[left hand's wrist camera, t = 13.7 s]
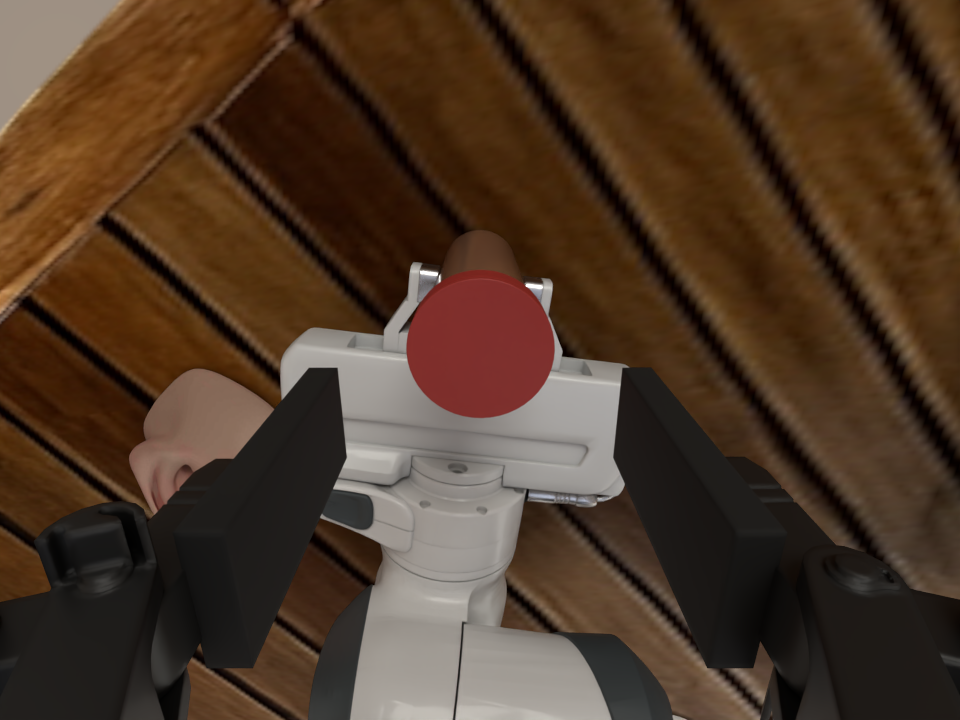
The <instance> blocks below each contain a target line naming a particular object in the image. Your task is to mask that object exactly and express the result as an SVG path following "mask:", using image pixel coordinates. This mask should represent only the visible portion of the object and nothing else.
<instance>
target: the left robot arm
mask: <svg viewBox="0 0 960 720" xmlns="http://www.w3.org/2000/svg"><path fill="white" fill-rule="evenodd" d="M346 459H347V453H346V443H345V434H344V424H343V414H342V405H341V395H340V385H339V375H338V368H308V369H307V371H306V372H305V373H304V374H303V375H302V377H301V378H300V379H299V380H298V381H297V383H296V384H295V385H294V386H293V387H292V389H291V390H290V391H289V392H288V393H287V395H286V396H285V397H284V398H283V400H282V401H281V402H280V403H279V404H278V406H277V407H276V408H275V409H274V410H273V412H272V413H271V414H270V415H269V416H268V418H267V419H266V420H265V421H264V423H263V424H262V425H261V426H260V427H259V429H258V430H257V431H256V432H255V433H254V435H253V436H252V437H251V438H250V439H249V441H248V442H247V443H246V444H245V445H244V447H243V448H242V449H241V450H240V452H239V453H238V454H237V455H236V456H235V458H234V459H214V460H213V461H211V462H209V463H208V464H206V465H205V466H203V467H201V468H200V469H198V470H196V471H195V472H193V473H192V475H191V476H190V477H189V478H188V479H187V480H186V481H185V482H184V483H183V484H182V485H181V486H180V488H179V491H176V492H175V493H174V494H173V495H172V496H171V497H170V498H169V500H168V501H167V504H164V505H163V506H162V507H161V508H160V509H159V510H158V511H157V513H156V514H155V515H154V516H153V517H152V518H151V519H150V520H149V521H148V522H147V519H146V516H145V512H144V509H143V508H141V507H140V506H139V505H137V504H136V503H130V502H123V501H119V502H109V503H101V504H98V505H94V506H91V507H87V508H83V509H81V510H78V511H76V512H74V513H72V514H69V515H67V516H65V517H63V518H61V519H59V520H58V521H56V522H55V523H53V524H52V525H50V526H49V527H47V528H46V529H45V530H44V531H43V532H42V533H41V534H40V535H39V536H38V537H37V539H36V540H35V541H34V542H35V545H36V548H37V550H38V553H39V556H40V559H41V561H42V564H43V567H44V569H45V572H46V575H47V577H48V580H49V583H50V586H51V590H50V591H49V592H45V593H40V594H36V595H31V596H26V597H22V598H17V599H13V600H8V601H3V602H0V720H187V716H188V707H189V699H190V690H191V686H190V679H189V674H188V670H187V667H186V666H187V665H188V663H189V661H190V659H191V658H192V656H193V654H194V652H195V651H196V649H197V647H198V646H199V644H201V647H202V651H203V655H204V659H205V663H206V667H207V668H253V666H254V664H255V662H256V660H257V657H258V655H259V653H260V651H261V649H262V646H263V644H264V642H265V640H266V637H267V635H268V633H269V631H270V628H271V626H272V624H273V622H274V620H275V617H276V615H277V613H278V611H279V608H280V606H281V604H282V602H283V599H284V597H285V595H286V593H287V590H288V588H289V586H290V584H291V582H292V579H293V577H294V575H295V573H296V570H297V568H298V566H299V564H300V561H301V559H302V557H303V555H304V553H305V550H306V548H307V546H308V544H309V541H310V539H311V537H312V535H313V532H314V530H315V528H316V526H317V524H318V521H319V519H320V517H321V515H322V512H323V510H324V508H325V506H326V503H327V501H328V499H329V497H330V494H331V492H332V490H333V488H334V486H335V483H336V481H337V479H338V477H339V474H340V472H341V470H342V468H343V465H344V463H345V461H346ZM613 459H614V461H615V463H616V465H617V468H618V470H619V472H620V474H621V477H622V479H623V481H624V483H625V486H626V488H627V490H628V492H629V494H630V497H631V499H632V501H633V503H634V506H635V508H636V510H637V512H638V515H639V517H640V519H641V521H642V524H643V526H644V528H645V530H646V532H647V535H648V537H649V539H650V541H651V544H652V546H653V548H654V550H655V553H656V555H657V557H658V559H659V561H660V564H661V566H662V568H663V570H664V573H665V575H666V577H667V579H668V582H669V584H670V586H671V588H672V590H673V593H674V595H675V597H676V599H677V602H678V604H679V606H680V608H681V611H682V613H683V615H684V617H685V620H686V622H687V624H688V626H689V628H690V631H691V633H692V635H693V637H694V640H695V642H696V644H697V646H698V649H699V651H700V653H701V655H702V657H703V660H704V662H705V664H706V666H707V668H753V667H754V663H755V659H756V655H757V651H758V647H759V643H760V641H761V643H762V645H763V646H764V648H765V650H766V651H767V653H768V655H769V657H770V658H771V660H772V662H773V663H774V667H773V670H772V674H771V678H770V681H769V685H768V689H767V692H766V696H765V700H764V703H763V707H762V712H761V718H760V720H769V718H770V714H771V711H772V714H773V720H960V600H959V599H954V598H949V597H945V596H940V595H935V594H931V593H926V592H922V591H917V590H913V589H909V587H908V586H907V584H906V583H905V582H904V581H903V579H902V578H901V577H900V575H899V574H898V573H896V572H895V571H894V570H892V569H891V568H890V567H889V566H887V565H886V564H885V563H883V562H882V561H880V560H878V559H876V558H874V557H872V556H870V555H868V554H866V553H864V552H861V551H858V550H854V549H851V548H848V547H845V546H837V545H835V544H834V543H833V541H832V540H831V539H830V538H829V537H828V536H827V535H826V534H825V533H824V532H823V531H822V530H821V528H820V527H819V526H818V525H817V524H816V523H815V522H814V521H813V520H812V519H811V518H810V517H809V516H808V514H807V513H806V512H805V511H804V510H803V509H802V508H801V507H800V506H799V505H798V504H797V503H794V502H793V498H792V497H791V496H790V495H789V494H788V493H787V492H786V491H785V490H784V489H781V485H780V484H779V483H778V482H777V481H776V480H775V479H774V478H773V477H772V476H771V474H770V473H769V472H768V471H767V470H765V469H764V468H762V467H760V466H759V465H757V464H755V463H754V462H752V461H750V460H749V459H747V458H745V457H725V456H724V455H723V454H722V453H721V452H720V450H719V449H718V448H717V447H716V445H715V444H714V443H713V442H712V441H711V439H710V438H709V437H708V436H707V435H706V433H705V432H704V431H703V430H702V429H701V427H700V426H699V425H698V424H697V423H696V421H695V420H694V419H693V418H692V416H691V415H690V414H689V413H688V412H687V410H686V409H685V408H684V407H683V406H682V404H681V403H680V402H679V401H678V400H677V398H676V397H675V396H674V395H673V393H672V392H671V391H670V390H669V389H668V387H667V386H666V385H665V384H664V383H663V381H662V380H661V379H660V378H659V377H658V375H657V374H656V373H655V372H654V371H653V369H652V368H622V375H621V385H620V395H619V405H618V414H617V424H616V434H615V443H614V453H613Z"/></svg>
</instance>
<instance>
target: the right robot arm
mask: <svg viewBox="0 0 960 720" xmlns="http://www.w3.org/2000/svg"><path fill="white" fill-rule="evenodd" d="M439 274H440V266H439V265H432V264H425V263H417V262H413V264H412V265H411V269H410V275H409V288H408V295H407V297H406V298H405V299H404V301H403V302H402V304H401V305H400V306H399V308H398V309H397V310H396V312H395V313H394V315H393V316H392V317H391V319H390V321H389V322H388V324H387V326H386V328H385V329H384V336H383V335H375V334H366V333H358V332H349V331H341V330H332V329H324V328H310V329H308V330H307V331H306V332H304V333H303V334H302V335H301V336H299V337H298V338H297V339H296V340H295V341H294V342H293V343H292V344H291V345H290V346H289V347H288V348H287V350H286V351H285V353H284V355H283V357H282V360H281V373H280V377H281V396H282V400H283V398H284V397H285V396H286V395H287V393H288V392H289V391H290V390H291V389H292V387H293V386H294V385H295V384H296V383H297V381H298V380H299V379H300V378H301V377H302V375H303V374H304V373H305V372H306V371H307V369H308V368H338V375H339V385H340V395H341V405H342V414H343V424H344V434H345V443H346V453H347V459H346V461H345V463H344V465H343V468H342V470H341V472H340V474H339V477H338V479H337V481H336V483H335V486H334V488H333V490H332V492H331V494H330V497H329V499H328V501H327V503H326V506H325V508H324V510H323V512H322V515H321V517H320V518H321V519H324V520H327V521H330V522H332V523H335V524H338V525H340V526H343V527H345V528H348V529H350V530H353V531H355V532H357V533H360V534H362V535H364V536H366V537H368V538H370V539H372V540H374V541H376V542H378V543H380V545H381V549H382V554H383V560H382V563H381V565H380V567H379V569H378V572H377V576H376V582H375V585H370V586H369V587H367V588H366V589H365V590H363V591H362V592H361V593H360V594H359V595H358V596H357V597H356V598H355V599H354V600H353V601H352V602H351V603H350V604H349V605H348V606H347V607H346V609H345V610H344V611H343V612H342V613H341V614H340V615H339V616H338V618H337V619H336V621H335V622H334V624H333V626H332V627H331V629H330V631H329V633H328V635H327V638H326V640H325V642H324V645H323V648H322V650H321V653H320V657H319V660H318V663H317V667H316V671H315V675H314V680H313V685H312V690H311V697H310V705H309V715H308V720H687V719H685V718H682V717H679V716H675V715H672V710H671V706H670V703H669V699H668V697H667V694H666V692H665V691H664V689H663V688H662V686H661V685H660V683H659V682H658V680H657V679H656V678H655V676H654V675H653V674H652V673H651V671H650V670H649V669H648V668H647V666H646V665H645V664H644V663H643V662H642V661H641V660H640V659H639V658H638V657H637V656H636V654H635V653H634V652H633V651H632V650H631V649H630V648H629V647H628V646H626V645H625V644H624V643H623V642H622V641H621V640H620V639H619V638H618V637H616V636H615V635H612V634H595V633H568V632H555V633H552V634H549V633H541V632H533V631H526V630H518V629H511V628H503V627H500V626H501V622H502V617H503V613H504V608H505V603H506V594H507V587H506V580H505V571H506V570H507V568H508V566H509V564H510V563H511V561H512V558H513V555H514V552H515V549H516V543H517V538H518V532H519V527H520V522H521V516H522V511H523V504H524V502H525V501H530V502H539V503H550V504H554V503H555V504H558V503H561V504H563V503H564V504H567V503H568V504H573V505H574V506H578V507H595V506H596V505H597V502H603V501H606V500H609V499H611V498H613V497H614V496H617V495H619V494H620V493H621V491H622V490H623V488H624V484H625V483H624V481H623V479H622V477H621V474H620V472H619V470H618V468H617V465H616V463H615V461H614V459H613V453H614V443H615V434H616V424H617V414H618V405H619V395H620V385H621V375H622V368H629V367H628V366H627V365H624V364H620V363H611V362H602V361H594V360H586V359H577V358H569V357H562V352H563V351H562V348H561V346H560V343H559V341H558V338H557V335H556V333H555V330H554V328H553V325H552V322H551V320H550V317H549V315H548V313H549V307H550V302H551V296H552V288H553V284H552V282H551V280H550V279H545V278H537V277H528V276H524V277H523V281H524V284H525V286H526V287H528V288H529V289H530V290H531V291H532V292H533V293H534V294H535V296H536V297H537V298H538V300H539V301H540V303H541V304H542V306H543V308H544V311H545V313H546V315H547V317H548V320H549V322H550V324H551V328H552V331H553V335H554V341H555V354H554V361H553V365H552V369H551V371H550V374H549V376H548V378H547V380H546V382H545V384H544V385H543V387H542V388H541V389H540V391H539V392H538V393H537V394H536V395H535V396H534V397H533V398H532V399H531V400H530V401H528V402H527V403H526V404H525V405H523V406H521V407H520V408H518V409H516V410H514V411H512V412H510V413H507V414H504V415H501V416H496V417H491V418H471V417H465V416H461V415H457V414H454V413H452V412H449V411H447V410H445V409H443V408H441V407H440V406H438V405H437V404H435V403H434V402H433V401H431V400H430V399H429V398H428V397H427V396H426V395H425V394H424V393H423V392H422V390H421V389H420V388H419V387H418V385H417V383H416V382H415V380H414V378H413V376H412V374H411V371H410V368H409V365H408V361H407V354H406V343H407V336H408V332H409V328H410V325H411V323H412V322H409V321H407V320H408V318H409V317H410V315H411V314H412V313H413V311H414V310H415V309H416V307H417V306H418V304H419V303H420V302H421V301H422V300H423V298H424V297H425V296H426V295H427V293H428V292H429V291H430V290H431V289H432V288H433V287H435V285H436V282H437V279H438V276H439ZM597 494H599V495H597Z"/></svg>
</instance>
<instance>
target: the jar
mask: <svg viewBox="0 0 960 720" xmlns="http://www.w3.org/2000/svg"><path fill="white" fill-rule="evenodd" d="M470 270H490V271H496V272H500V273H503V274H506V275H509V276H511V277H513V278H515V279H517V280H518V281H520V282H521V283H523V284H524V281H523V278H522V275H521V273H520V270H519V267H518V264H517V262H516V259H515V256H514V254H513V251H512V249H511V247H510V246H509V244H508V243H507V242H506V241H505V240H504V239H503V238H502V237H500V236H499V235H497V234H495V233H493V232H490V231H485V230H476V231H471V232H468V233H465V234H463V235H461V236H460V237H458V238H457V239H456V240H455V241H454V242H453V243H452V245H451V246H450V248H449V249H448V251H447V254H446V257H445V259H444V262H443V265H442V268H441V271H440V274H439V276H438V279H437V282H436V285H437V284H438V283H440V282H441V281H443V280H444V279H446V278H448V277H450V276H452V275H455V274H458V273H461V272H465V271H470ZM436 285H435V286H436ZM524 285H525V284H524Z"/></svg>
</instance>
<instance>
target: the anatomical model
mask: <svg viewBox="0 0 960 720" xmlns="http://www.w3.org/2000/svg"><path fill="white" fill-rule="evenodd" d="M273 410H274V409H273V408H272V407H271V406H270V405H269V404H268V403H267V402H265V401H264V400H263V399H261V398H260V397H259V396H257V395H256V394H254V393H253V392H251V391H249V390H248V389H246V388H245V387H243V386H241V385H240V384H238V383H236V382H234V381H232V380H231V379H229V378H226V377H224V376H222V375H220V374H218V373H215V372H213V371H209V370H205V369H192V370H189V371H187V372H185V373H183V374H182V375H181V376H179V377H178V378H177V379H176V380H174V381H173V383H172V384H171V385H170V386H169V387H168V388H167V389H166V390H165V391H164V392H163V393H162V394H161V395H160V396H159V398H158V399H157V400H156V402H155V403H154V405H153V406H152V408H151V410H150V411H149V413H148V415H147V417H146V419H145V422H144V435H145V438H146V441H144V442H142V443H141V444H139V445H137V446H136V447H135V448H134V449H133V450H132V452H131V454H130V457H129V461H130V465H131V468H132V471H133V473H134V475H135V477H136V479H137V481H138V483H139V485H140V488H141V490H142V492H143V494H144V496H145V498H146V500H147V502H148V504H149V506H150V508H151V510H152V512H153V514H154V515H155V514H156V513H157V511H158V510H159V509H160V508H161V507H162V506H163V505H164V504H167V501H168V500H169V498H170V497H171V496H172V495H173V494H174V493H175V492H176V491H179V488H180V486H181V485H182V484H183V483H184V482H185V481H186V480H187V479H188V478H189V477H190V476H191V475H192V473H193V472H195V471H196V470H198V469H200V468H201V467H203V466H205V465H206V464H208V463H209V462H211V461H213V460H214V459H234V458H235V456H236V455H237V454H238V453H239V452H240V450H241V449H242V448H243V447H244V445H245V444H246V443H247V442H248V441H249V439H250V438H251V437H252V436H253V435H254V433H255V432H256V431H257V430H258V429H259V427H260V426H261V425H262V424H263V423H264V421H265V420H266V419H267V418H268V416H269V415H270V414H271V413H272V412H273Z"/></svg>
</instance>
